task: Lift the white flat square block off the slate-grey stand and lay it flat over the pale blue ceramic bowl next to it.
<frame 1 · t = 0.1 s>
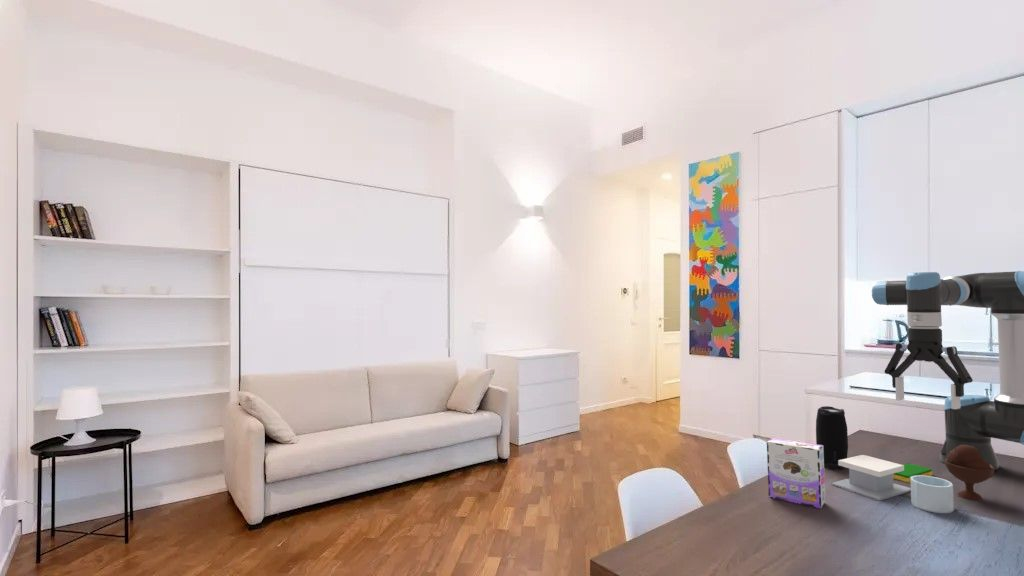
hand: (926, 404, 145), 28 cm above the table, tool pointing down, fingers open, 13 cm apart
dish sponge: (908, 477, 168), on the table
candy box: (796, 500, 150), on the table
portable speaker: (832, 466, 178), on the table
white flat square block: (870, 467, 158), point 6 cm above the table, touching sheet stand
ice cream bowl: (969, 497, 150), on the table
ceramic bowl: (931, 506, 144), on the table
sheet stand: (871, 487, 158), on the table
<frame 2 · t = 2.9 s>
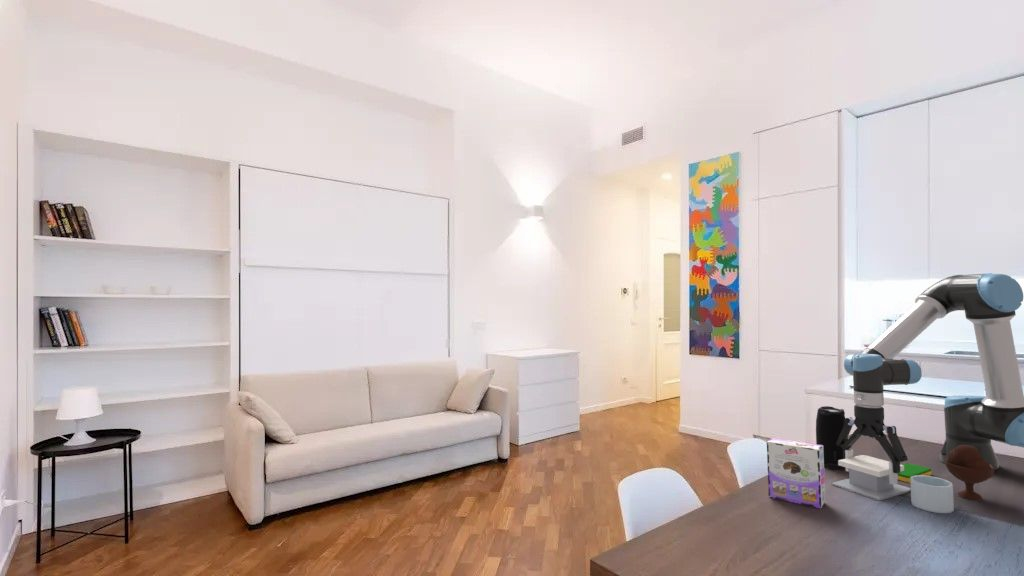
hand: (870, 476, 158), 3 cm above the table, tool pointing down, fingers closed on white flat square block, 12 cm apart
white flat square block: (870, 467, 158), point 6 cm above the table, touching gripper, sheet stand
everything else where it was.
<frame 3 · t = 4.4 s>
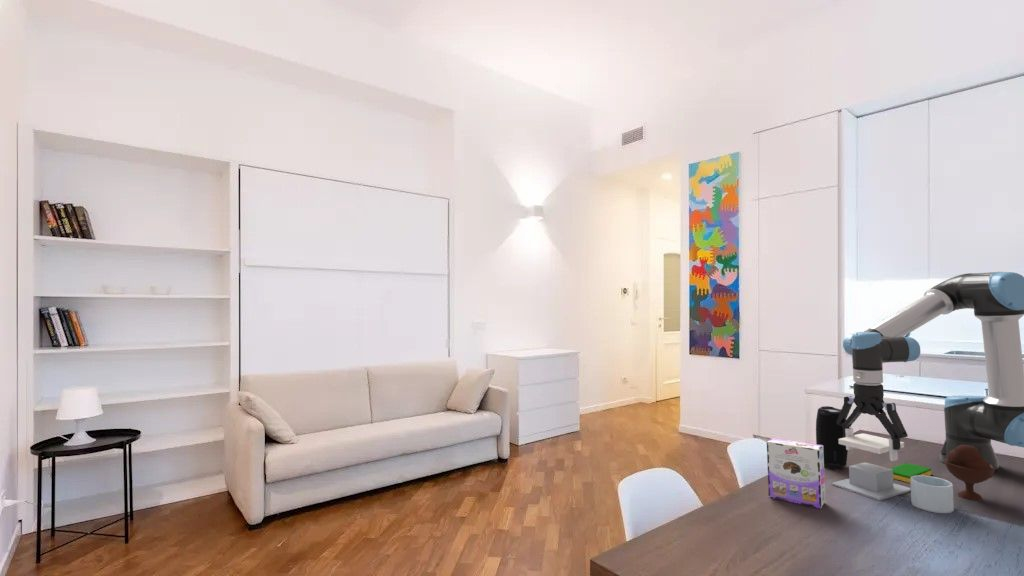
hand: (871, 454, 158), 10 cm above the table, tool pointing down, fingers closed on white flat square block, 12 cm apart
white flat square block: (870, 445, 159), point 13 cm above the table, touching gripper
everything else where it was.
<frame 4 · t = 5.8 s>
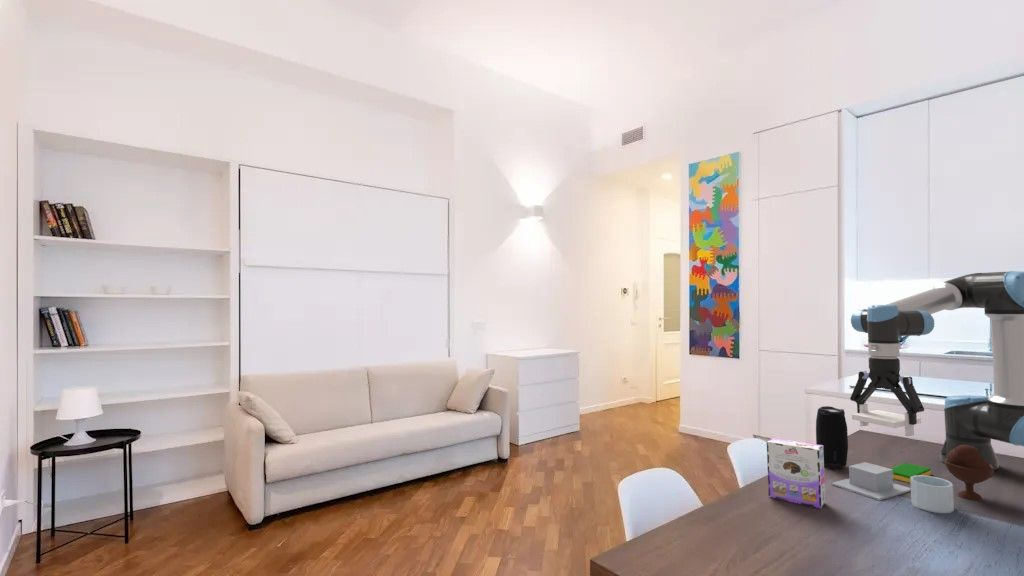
hand: (886, 430, 154), 18 cm above the table, tool pointing down, fingers closed on white flat square block, 12 cm apart
white flat square block: (885, 421, 154), point 21 cm above the table, touching gripper
everything else where it was.
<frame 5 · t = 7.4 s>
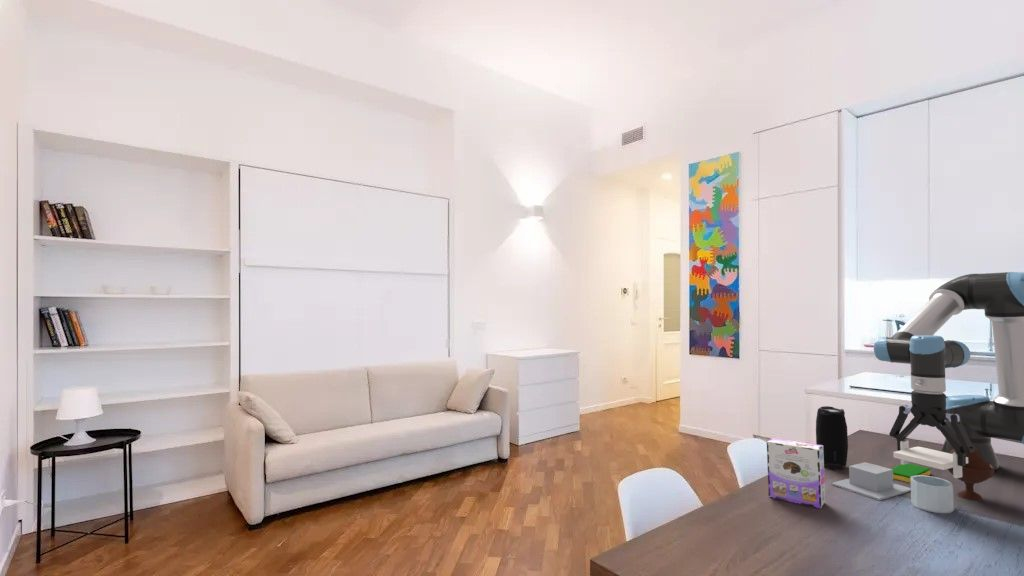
hand: (930, 470, 144), 10 cm above the table, tool pointing down, fingers closed on white flat square block, 12 cm apart
white flat square block: (930, 460, 144), point 13 cm above the table, touching gripper
everything else where it was.
when the fingers open (6 cm above the table, at t = 8.9 s): white flat square block drops 1 cm, resting on ceramic bowl.
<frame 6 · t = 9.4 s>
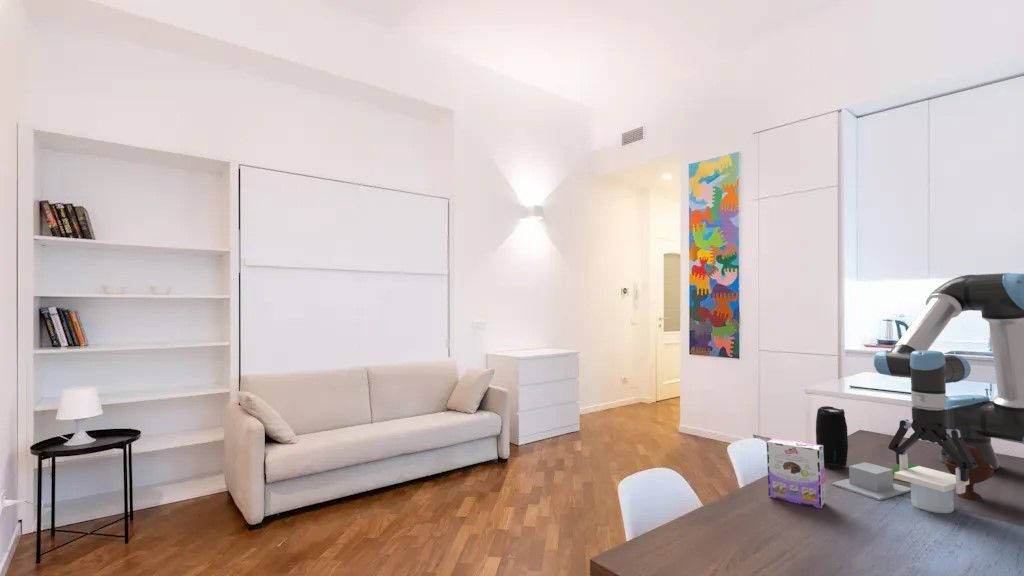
hand: (931, 484, 144), 6 cm above the table, tool pointing down, fingers open, 13 cm apart
white flat square block: (931, 481, 144), point 7 cm above the table, touching ceramic bowl
everything else where it was.
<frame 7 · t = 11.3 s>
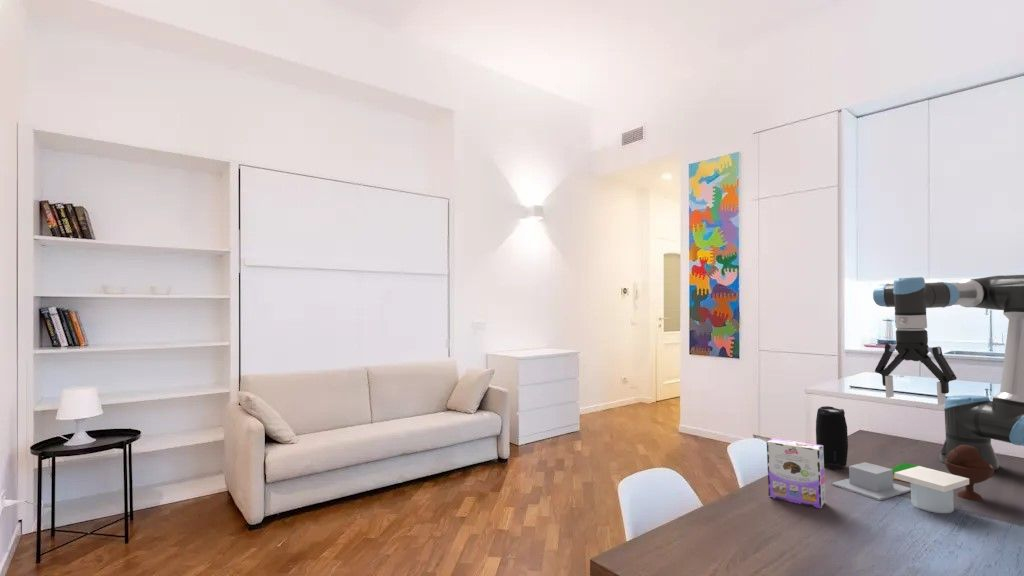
hand: (914, 400, 155), 27 cm above the table, tool pointing down, fingers open, 13 cm apart
nothing on the table moved.
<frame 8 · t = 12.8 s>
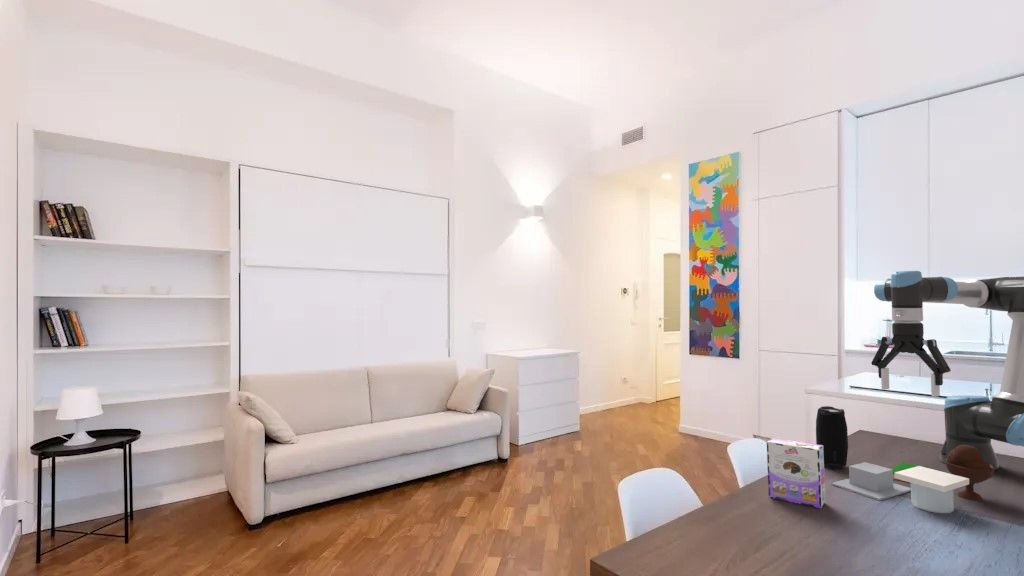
hand: (909, 392, 157), 29 cm above the table, tool pointing down, fingers open, 13 cm apart
nothing on the table moved.
at the end: white flat square block 0.0 cm off-centre on the ceramic bowl, point 7.0 cm above the ceramic bowl's base; white flat square block tilted 0°; the gripper is holding nothing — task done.
